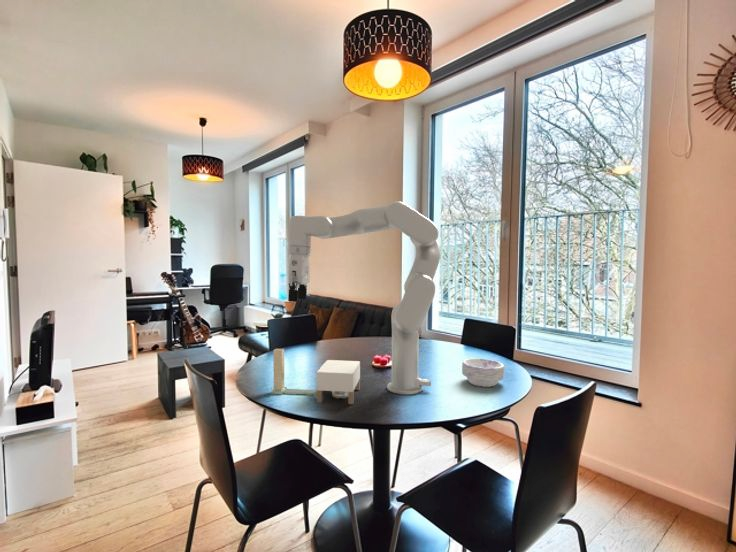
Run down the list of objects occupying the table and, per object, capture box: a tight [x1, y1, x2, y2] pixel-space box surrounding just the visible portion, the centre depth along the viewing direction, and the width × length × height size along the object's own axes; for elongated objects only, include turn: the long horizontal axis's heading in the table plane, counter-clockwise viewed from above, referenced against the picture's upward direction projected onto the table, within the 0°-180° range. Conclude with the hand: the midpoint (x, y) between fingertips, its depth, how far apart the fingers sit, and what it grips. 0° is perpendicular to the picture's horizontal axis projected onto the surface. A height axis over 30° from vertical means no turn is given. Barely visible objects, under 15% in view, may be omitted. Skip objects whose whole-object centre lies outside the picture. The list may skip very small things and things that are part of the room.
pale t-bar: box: [270, 348, 324, 399], centre depth 134 cm, size 17×7×15 cm, turn 83°
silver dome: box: [331, 391, 348, 399], centre depth 133 cm, size 6×6×2 cm
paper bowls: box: [461, 357, 505, 388], centre depth 146 cm, size 15×15×8 cm
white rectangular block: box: [316, 359, 361, 405], centre depth 132 cm, size 12×15×10 cm
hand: (297, 300), depth 136 cm, fingers open, 9 cm apart
